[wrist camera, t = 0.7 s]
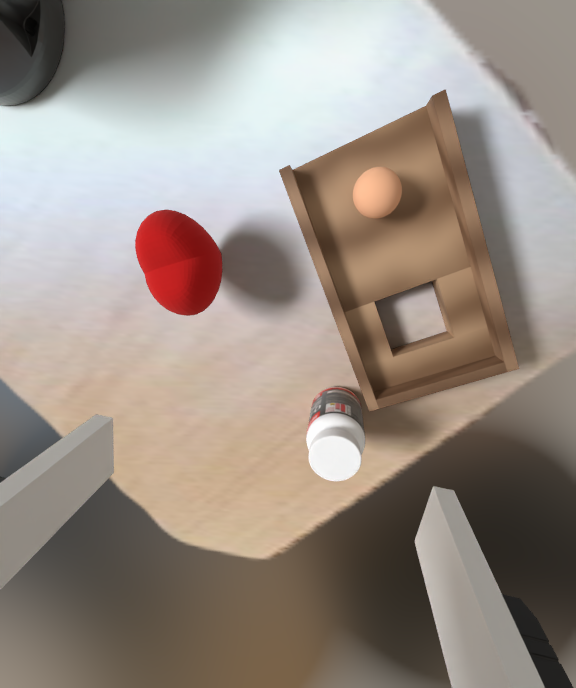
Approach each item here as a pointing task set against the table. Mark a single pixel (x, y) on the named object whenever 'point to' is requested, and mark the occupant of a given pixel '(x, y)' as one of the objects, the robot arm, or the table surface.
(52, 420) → the table surface
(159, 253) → the red heart-shaped lump
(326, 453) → the pill bottle
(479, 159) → the table surface
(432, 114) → the lane
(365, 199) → the ball
